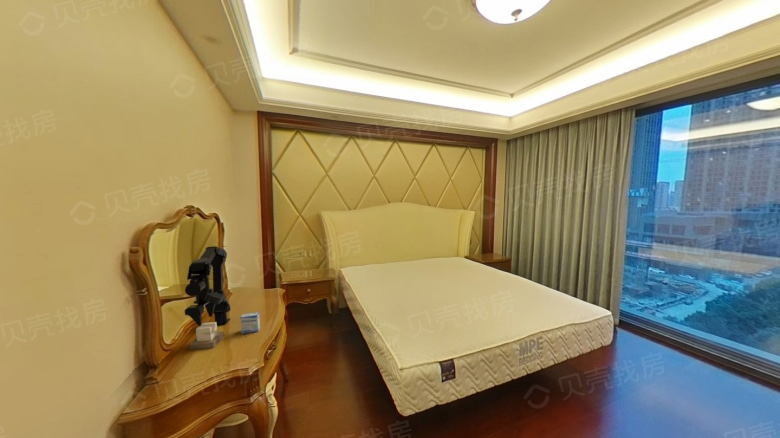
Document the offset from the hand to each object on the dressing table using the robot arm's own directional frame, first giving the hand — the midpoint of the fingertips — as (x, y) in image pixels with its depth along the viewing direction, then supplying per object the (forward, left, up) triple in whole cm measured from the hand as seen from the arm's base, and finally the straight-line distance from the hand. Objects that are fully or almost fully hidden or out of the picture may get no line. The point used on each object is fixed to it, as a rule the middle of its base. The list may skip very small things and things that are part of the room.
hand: (205, 321), depth 129 cm
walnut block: (0, 0, -11) cm, 11 cm away
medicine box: (-9, +16, -11) cm, 21 cm away
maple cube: (0, 0, -8) cm, 8 cm away
